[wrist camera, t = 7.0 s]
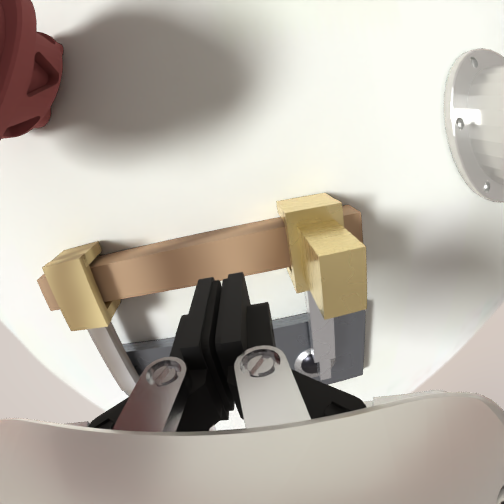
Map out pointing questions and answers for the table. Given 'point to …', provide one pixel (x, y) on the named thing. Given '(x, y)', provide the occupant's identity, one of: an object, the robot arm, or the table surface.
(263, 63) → the table surface
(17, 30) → the mechanical component
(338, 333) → the hole plate
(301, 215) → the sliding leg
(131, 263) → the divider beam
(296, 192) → the table surface
